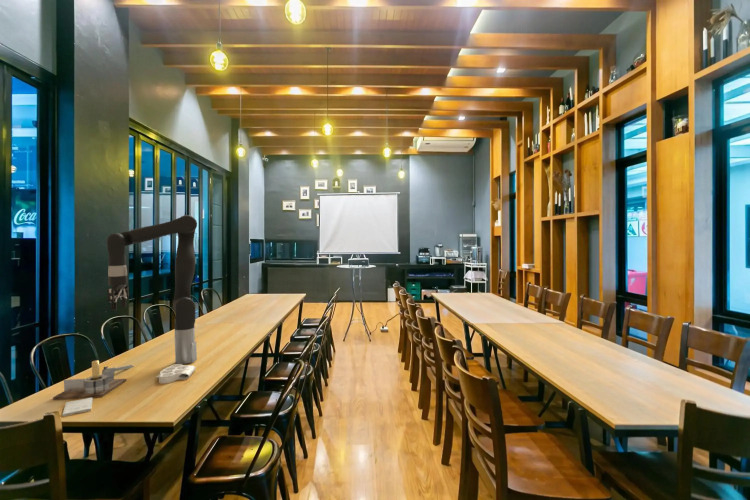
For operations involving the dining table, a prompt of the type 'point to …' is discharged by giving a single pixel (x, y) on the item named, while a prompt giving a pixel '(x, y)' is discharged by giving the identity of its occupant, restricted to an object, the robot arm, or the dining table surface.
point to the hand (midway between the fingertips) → (118, 308)
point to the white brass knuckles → (175, 373)
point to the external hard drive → (77, 406)
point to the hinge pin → (95, 370)
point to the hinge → (89, 384)
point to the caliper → (116, 368)
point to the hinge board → (81, 394)
